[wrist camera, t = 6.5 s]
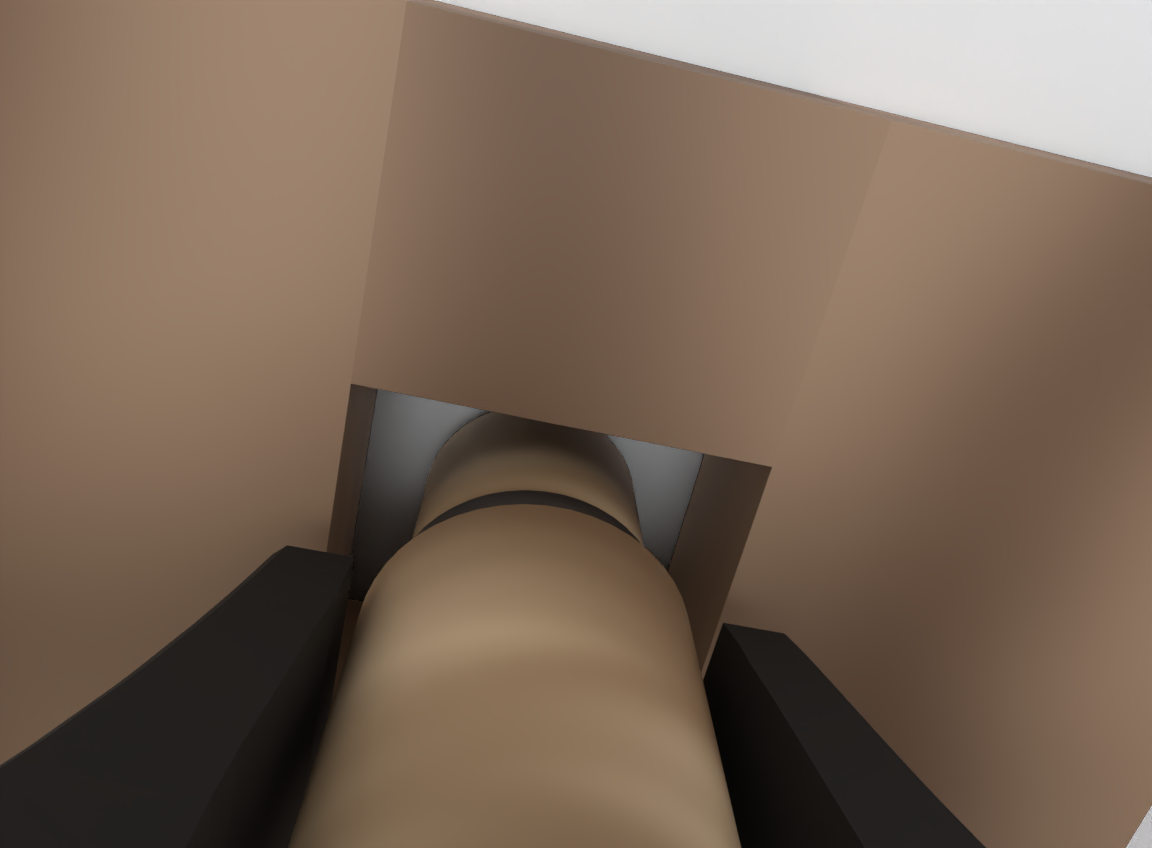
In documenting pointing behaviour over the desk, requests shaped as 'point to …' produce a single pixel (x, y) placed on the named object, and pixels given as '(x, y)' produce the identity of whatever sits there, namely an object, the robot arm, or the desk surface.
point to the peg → (521, 669)
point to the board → (581, 357)
